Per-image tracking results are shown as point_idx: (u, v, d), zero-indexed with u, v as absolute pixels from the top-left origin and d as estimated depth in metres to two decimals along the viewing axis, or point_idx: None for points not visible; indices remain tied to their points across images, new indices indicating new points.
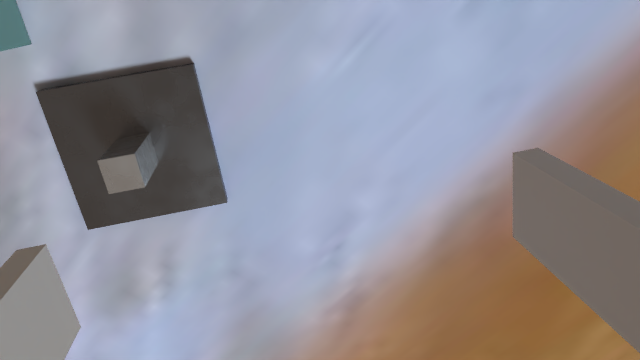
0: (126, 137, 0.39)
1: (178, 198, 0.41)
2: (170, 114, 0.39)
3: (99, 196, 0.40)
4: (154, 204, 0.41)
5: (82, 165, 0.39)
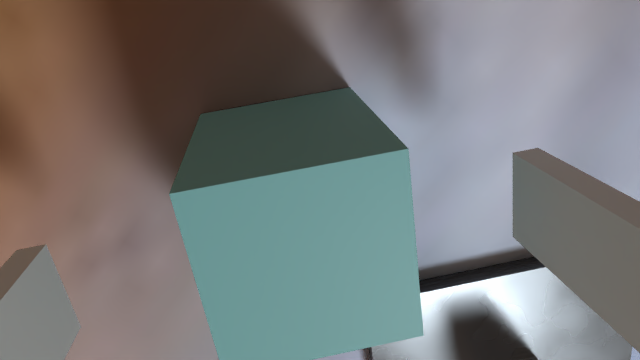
0: None
1: None
2: (579, 326, 0.21)
3: None
4: None
5: None
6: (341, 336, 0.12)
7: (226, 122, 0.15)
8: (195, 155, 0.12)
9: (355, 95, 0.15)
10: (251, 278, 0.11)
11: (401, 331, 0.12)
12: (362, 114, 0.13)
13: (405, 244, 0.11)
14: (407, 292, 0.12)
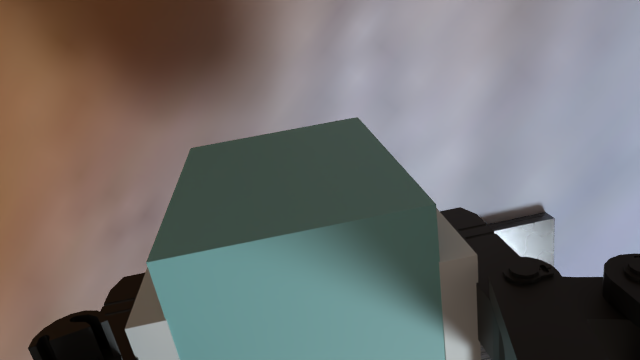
0: None
1: None
2: None
3: None
4: None
5: None
6: None
7: (219, 160, 0.13)
8: (181, 205, 0.10)
9: (364, 128, 0.14)
10: (247, 357, 0.09)
11: None
12: (375, 153, 0.12)
13: (430, 314, 0.10)
14: None
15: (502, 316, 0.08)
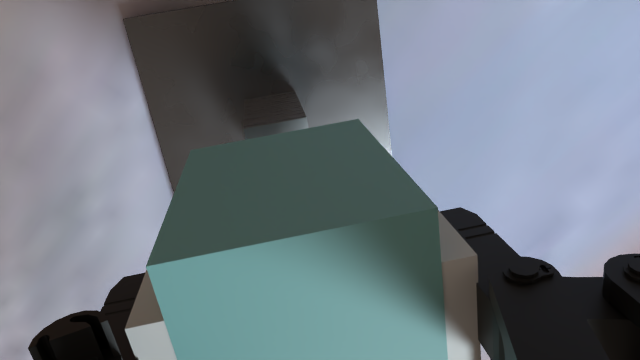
0: (260, 97, 0.24)
1: None
2: (330, 60, 0.24)
3: None
4: None
5: (188, 142, 0.25)
6: None
7: (219, 162, 0.13)
8: (181, 208, 0.10)
9: (365, 129, 0.14)
10: None
11: None
12: (376, 155, 0.12)
13: (432, 317, 0.09)
14: None
15: (502, 316, 0.08)
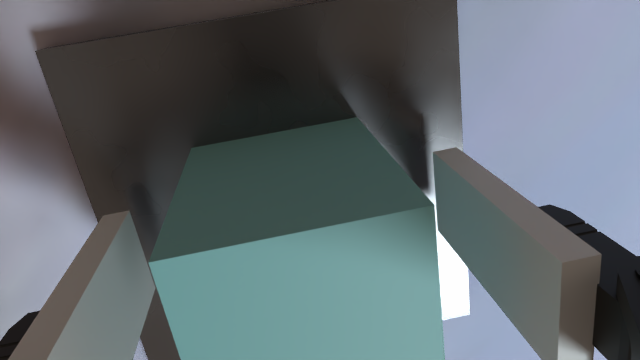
0: None
1: None
2: (379, 114, 0.15)
3: None
4: None
5: (152, 241, 0.16)
6: None
7: (219, 160, 0.13)
8: (182, 205, 0.11)
9: (364, 128, 0.14)
10: (247, 356, 0.09)
11: None
12: (374, 153, 0.12)
13: (429, 313, 0.10)
14: None
15: (632, 314, 0.07)
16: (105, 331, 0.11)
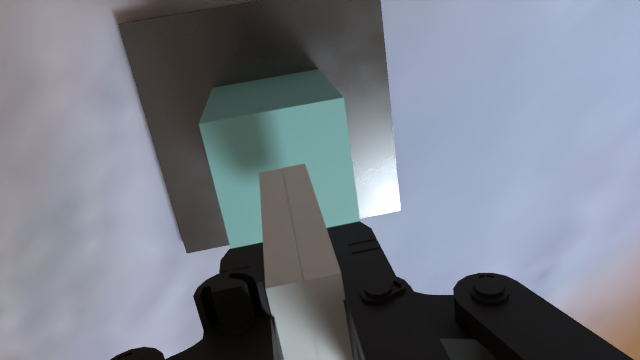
0: None
1: None
2: (332, 67, 0.23)
3: (208, 201, 0.25)
4: None
5: (185, 151, 0.24)
6: None
7: (231, 91, 0.22)
8: (212, 107, 0.19)
9: (320, 73, 0.22)
10: (248, 181, 0.18)
11: (345, 221, 0.19)
12: (322, 83, 0.20)
13: (345, 160, 0.18)
14: (348, 193, 0.19)
15: (359, 341, 0.08)
16: None
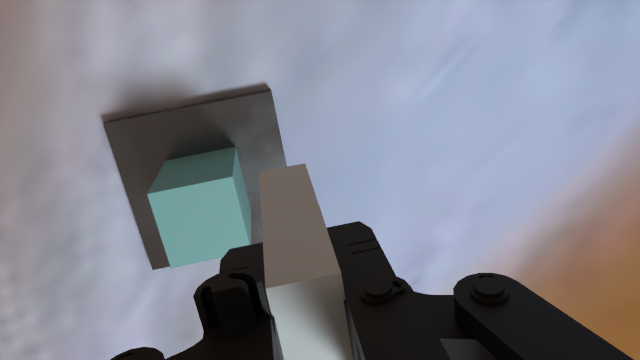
0: None
1: None
2: (245, 145, 0.36)
3: None
4: None
5: None
6: (216, 250, 0.31)
7: (175, 165, 0.34)
8: (158, 180, 0.31)
9: (234, 151, 0.34)
10: (178, 225, 0.30)
11: None
12: (229, 161, 0.32)
13: (237, 212, 0.30)
14: (241, 232, 0.31)
15: (359, 341, 0.08)
16: None
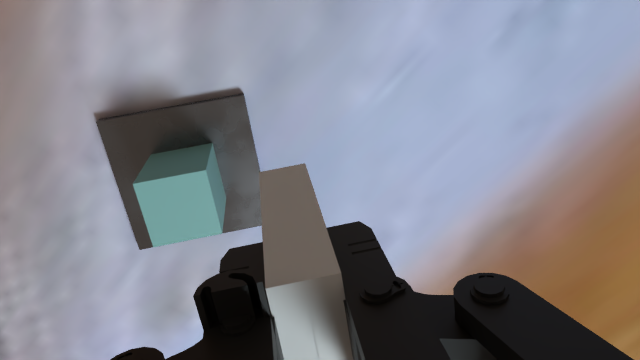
0: None
1: (225, 220, 0.43)
2: (220, 141, 0.41)
3: None
4: None
5: None
6: (192, 232, 0.36)
7: (158, 158, 0.39)
8: (143, 172, 0.36)
9: (210, 147, 0.39)
10: (159, 211, 0.35)
11: (213, 231, 0.36)
12: (205, 156, 0.37)
13: (210, 200, 0.35)
14: (213, 217, 0.36)
15: (359, 341, 0.08)
16: None
